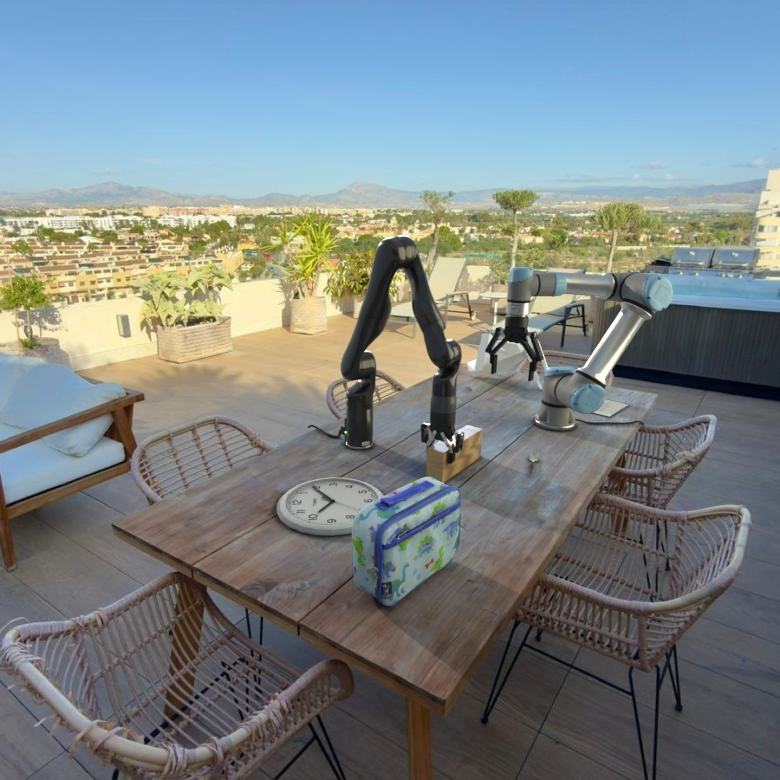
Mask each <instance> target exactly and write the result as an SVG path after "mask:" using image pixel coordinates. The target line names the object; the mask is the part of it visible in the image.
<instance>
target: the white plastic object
mask: <svg viewBox="0 0 780 780" xmlns="http://www.w3.org/2000/svg"><path fill="white" fill-rule="evenodd" d="M527 329H528V332H531V331H530V328H529V327H528V328H527ZM493 336H494V335H492V334H491V333H490V332H489V333H487V332H486V333H481V336H480V337H481V338H480V342H479V346H478V347H479V348H478V351H477V355H476V358H475V359H473V360H470V361H468V362H466V365H467V369H468V373H469V374H470V375H471V376H472V377H473V378H476V377H483V376H491V375H492V376H493V375H498V376H501V375H504V374H507V373H508V372H509V370H510V369H512V368H513V367H514V366H516V365H518V364H519V363H520V362H521V361H523V360H525V359H526V357H527V360H528V363H529V364H530V362H531V361H532V360H531V358H530V357H529V355H528V354H527V352H526V351H525V349H524V347H523V346H522V345H521V344H520V343H518V344H517V343H514V342H512V343H510V342H509V341H508V342H506V343H505V344H504V345H503V346H502V347H501V348H500V349H499V350H498V351H497V352H496V354H497V355H498V358H497V370H496V373H494V374H491V366H492V364H490V354H489V353H486V352H485V349H486V348H487V346H488V344H489V342H490V341H491V339H492V337H493ZM526 339H527V340H528V343H529V345H530V346H531V348H532V349H533V351H534V348H533V345H532V342H531V338H529V336H527V337H526ZM537 340H538V343H539V345H540V348H541V351H542V354H543V356H544V360H542V361H541V364H542V367H543V369H544V371H545V370H546V369H547V368H549V366H548V363H547V359H546V357H545V354H544V352H543V351H544V350H543V348H542V346H541V343H540V340H539V339H538V338H537ZM501 341H502V339H498V340H497V341H496V343H495V345H494V346H493V348H492V350H493V349H494V348H495V347H496V346H497V345H498V344H499V343H500V342H501ZM534 352H535V351H534ZM537 370H538V369H537ZM537 370H536V371H535V372H534V377H533V380H534V382H535V384H536V385H537V386H538V388H539V389H540V390H543V385H542V382H541V380H540V377H539V374H538V371H537Z"/></svg>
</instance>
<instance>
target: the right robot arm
mask: <svg viewBox="0 0 780 780" xmlns="http://www.w3.org/2000/svg"><path fill="white" fill-rule="evenodd" d="M506 295H507V296H506V306H505V314H506V315H505V316H504V327H502V326H497V327H495V329H494V333H493V335H492V336H493V337H492V339H491V341H490V342H489V344H488V346H487V348H486V349H485V352H486V353H489V354H490V364H492V366H491V374H494V373H496V370H497V358H498V355H497V354H496V352H497V351H498V350H499V349H500V348H501V347H502V346H503V345H504V344H505V343H506V342H508V341H509V342H510V343H512V342H514V343H517V344H518V343H520V344H521V345H522V346H523V347H524V349H525V351H526V352H527V354H528V355H529V357H530V358H531V360H532V361H531V362H530V363H529V365H528V366H529V367H528V378H527V382H532V381H533V380H534V372H535V371H536V370H538V363H539V362H542V360H544V357H545V355H544V356H543V354H544V353H543V354H542V351H543V350H542V351H541V348H542V347H541V348H540V345H541V344H540V345H539V343H540V342H539V343H538V341H539V339H538V332H537V331H536V330H535V331H530V332H528V329H527V328H529V319H530V318H529V315H530V309H531V299H532V297H533V298H534V297H552V298H554V297H561V296H563V295H571V296H572V295H574V296H589V297H591V296H592V297H599V299H601V300H607V301H613V302H618V303H619V304H620V310H619V312H618V314H617V315H616V316H615V318H614V320H613V321H612V323H611V324H610V325H609V327H608V329H607V330H606V332H605V333H604V335H603V336H602V338H601V340H600V341H599V342H598V344H597V345H596V347H595V349H594V350H593V352H592V353H591V355H590V356H589V358H588V359H587V361H586V363H585V364H584V366H581V367H578V368H575V367H572V366H558V365H557V366H548V368H547V369H546V370H544V373H543V381H542V382H543V384H542V394H541V402H540V405H539V407H538V410H537V411H536V413H535V415H534V424H535V425H536V426H537V427H539V428H542V429H544V430H549V431H556V432H567V431H572V430H574V429H575V428H576V422H580V423H583V424H588V425H632V424H637V423H639V424H640V425H644V422H642V421H641V420H633V421H625V422H624V421H622V422H621V421H618V422H616V421H615V422H614V421H599V422H597V421H596V422H594V421H587V420H584V419H579V418H575V417H576V416H575V413H579V414H581V415H590V414H594V413H593V412H595V411H597V410H598V409H599V408H600V407H601V406H602V405H603V403H604V401H605V399H606V392H605V389H606V388H607V386H608V385H607V384H608V383H607V378H608V377H609V375H610V373H611V372H612V370H613V369H614V368H615V366H616V364H617V363H618V361H619V360H620V358H621V357H622V355H623V353H624V352H625V351H626V349H627V347H629V344H630V343H631V342H632V340H633V338H634V337H635V335H636V334H637V332H638V331H639V329H640V328H641V327H642V325H643V323H644V322H645V321H649V320H651V319H653V317H654V315H655V314H656V312H661V311H662V310H666V309H667V308H668V307H669V305H670V304H671V303H672V300H673V297H674V290H673V285H672V283H671V281H670V280H669V279H668V278H667V277H665V276H662V275H658V274H652V273H651V274H650V273H641V272H635V271H631V272H629V271H628V272H604V273H602V274H591V273H577V272H562V271H547V270H535V269H534V268H533V267H531V266H530V267H529V266H512V267H511V268H510V269H509V274H508V280H507V294H506ZM501 334H503V335H504V337H503V338H502V339H501V340H502V341H501V342H500V343H499V344H498V345H497V346H496V347H495V348H494V349H493V350H492V348H493V346H494V345H495V343H496V341H499V338H500V336H501ZM527 336H529V338H531V342H532V345H533V348H534V351H535V352H534V351H533V349H532V348H531V346H530V345H529V343H528V338H527ZM537 339H538V340H537ZM494 375H495V374H494ZM574 412H575V413H574Z"/></svg>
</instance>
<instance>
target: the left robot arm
mask: <svg viewBox="0 0 780 780" xmlns="http://www.w3.org/2000/svg"><path fill="white" fill-rule="evenodd" d="M401 270H402V271H403V272H404V274H405V275H406V278H407V280H408V282H409V286H410V296H411V297H410V298H411V309H412V313H413V316H414V319H415V320H416V323H417V325H418V327H419V330H420V331H421V333H422V336H423V342H424V346H425V349H426V353H427V355H428V358H429V360H430V361H431V363H432V364H433V365H434V366H435V367H437V370H436V372H435V374H433V377H432V380H431V397H430V404H429V405H430V407H429V408H430V409H429V410H430V411H429V422H428V421H425V422H423V423H421V424H420V442H421V443H422V444H425V445H426V449H427V448H428V447H430V446H432V445H433V444H435V443H436V441H442V442H445V445H446V446H447V447H448V449H449V456H448V464H452V463H453V462H454V461H455V457H456V453H458V452H459V451H461V450H462V448H463V440H464V432H457V431H458V430H456V428H455V426H456V417H457V380H458V375H459V372H460V367H461V363H462V358H463V352H462V347H461V345H460V344H459V342H457V340H455V339H452V338H451V339H447V338H446V335H445V330H446V327H447V325H446V322H445V320H444V318H443V315H442V313H441V311H440V309H439V307H438V305H437V302H436V301H435V299H434V296H433V294H432V291H431V287H430V285H429V281H428V278H427V275H426V272H425V271H426V270H425V268H424V264H423V261H422V258H421V254H420V252H419V249H418V246H417V243H416V242H415V241H414V240H413V238H411V236H408V235H396V236H392V237H386V238H384V239H382V240H380V242H379V243H378V244H377V247H376V249H375V252H374V257H373V261H372V267H371V271H370V277H369V280H368V284H367V287H366V290H365V295H364V297H363V300H362V303H361V306H360V309H359V311H358V315H357V318H356V323H355V325H354V328H353V331H352V334H351V337H350V338H349V341H348V343H347V346H346V348H345V350H344V352H343V355H342V357H341V361H340V374H341V376H342V378H343V379H344V380H346V381H353V382H354V381H356V382H355V383H354V384H352V385H351V386H350V387H349V388H347V390H346V391H345V406H346V407H345V408H346V409H345V412H346V414H345V415H346V417H344V420H343V421H344V422H343V423H344V424H343V425H340V429H339V431H338V435H333V434H331V433H329V432H326V431H325V430H324V429H322V428H320V427H318V426H317V425H315V424H309V425H307V427H306V428H307V429H310V428H314V429H316V430H318V431H319V432H321V433H323V434H324V435H326V436H328V437H330V438H332V439H333V438H335V439H338V438H340V437H341V435H343V436H344V444H345V445H346V447H347V448H348V449H351V450H358V451H362V450H368V449H370V448H372V447H373V446H374V395H375V392H376V383H377V382H376V380H377V361H376V357H375V355H374V354H373V352H371V351H370V350H367V349H368V347H369V346H370V345H372V344H373V343H374V342H375V341H376V340H377V339H378V338H379V337H380V335H381V334H382V333H384V331H385V329H386V327H387V325H388V322H389V320H390V316H391V314H392V309H393V308H392V307H393V306H392V299H391V295H390V288H391V285H392V282H393V279H394V277H395V275H396V273H397V272H398V271H401ZM319 428H320V429H319ZM430 433H431V434H430ZM429 435H430V436H429ZM453 435H455V439H456V444H455V440H454V438H453ZM448 440H450V442H449V441H448Z"/></svg>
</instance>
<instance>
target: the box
mask: <svg viewBox="0 0 780 780" xmlns="http://www.w3.org/2000/svg"><path fill="white" fill-rule="evenodd" d="M456 431H457V432H464V440H463V448H462V450H461V451H459V452H458V453H456V457H455V461H454V462H453V463H452V464H448V456H449V449H448V447H447V446H446V445H445V442H442V441H440V440H438V441H437V442H434V443H433V445H432V446H430V447H428V448H427V447H426V471H425V477H432V478H434V479H436V480H438V481H440V482H442V483H444V484H445V483H446V482H447V481H449V480H450V479H452V478H453V477H454V476H456V475H457V474H458V473H460V472H461V471H463V470H464V469H466V468H467V467H468V466H470V465H471V464H473V463H474V462H476V461H477V460H478V459H480V458H481V457H482V445H483V443H482V442H483V432H484V431H483V428H480V427H476V426H473V425H469V424H466V425H465V426H463V427H461V428H460V429H458V430H456ZM453 438H454V440H455V444H456V439H455V435H453ZM448 441H449V442H450V440H448Z"/></svg>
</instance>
